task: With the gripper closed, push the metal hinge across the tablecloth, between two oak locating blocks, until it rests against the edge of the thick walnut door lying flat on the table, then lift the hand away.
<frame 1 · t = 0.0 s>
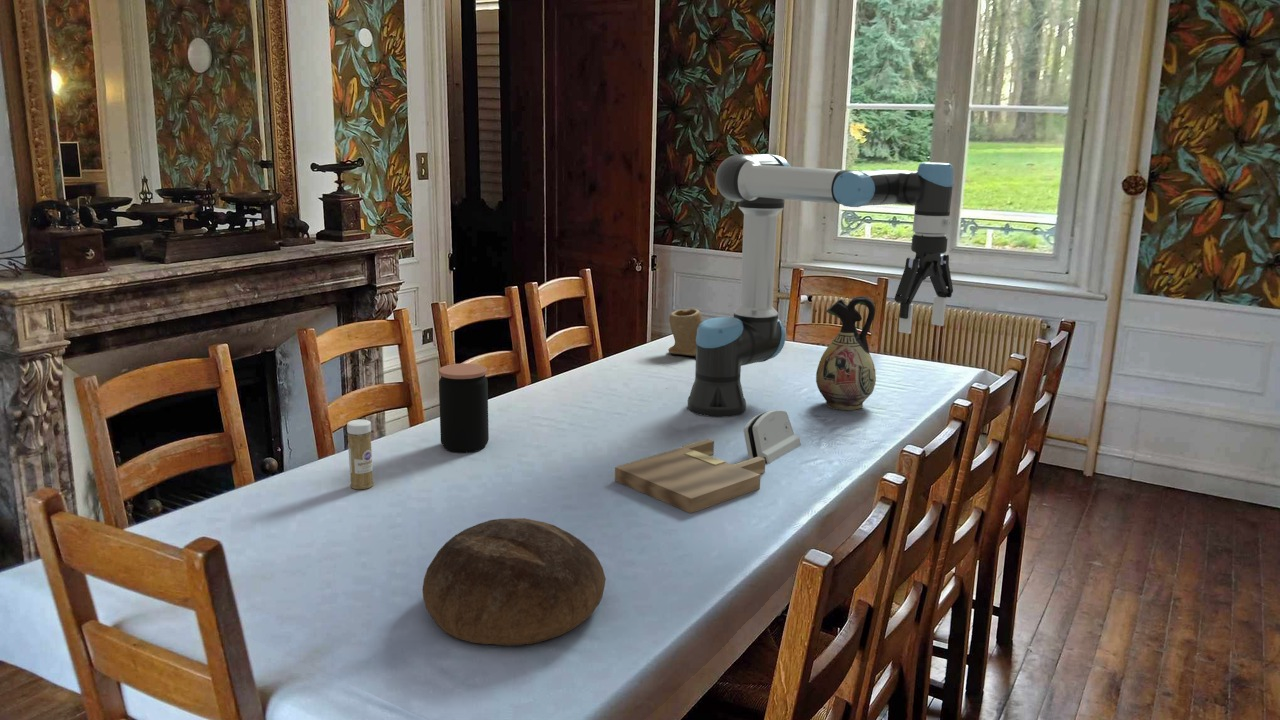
hand: (921, 328, 215), 28 cm above the table, tool pointing down, fingers open, 13 cm apart
bread: (514, 608, 145), on the table
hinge: (770, 451, 217), on the table
coffee jar: (464, 446, 216), on the table
ceramic jug: (846, 407, 253), on the table
stone cup: (690, 356, 305), on the table
door panel: (686, 484, 195), on the table
sprinkles bottle: (362, 487, 191), on the table
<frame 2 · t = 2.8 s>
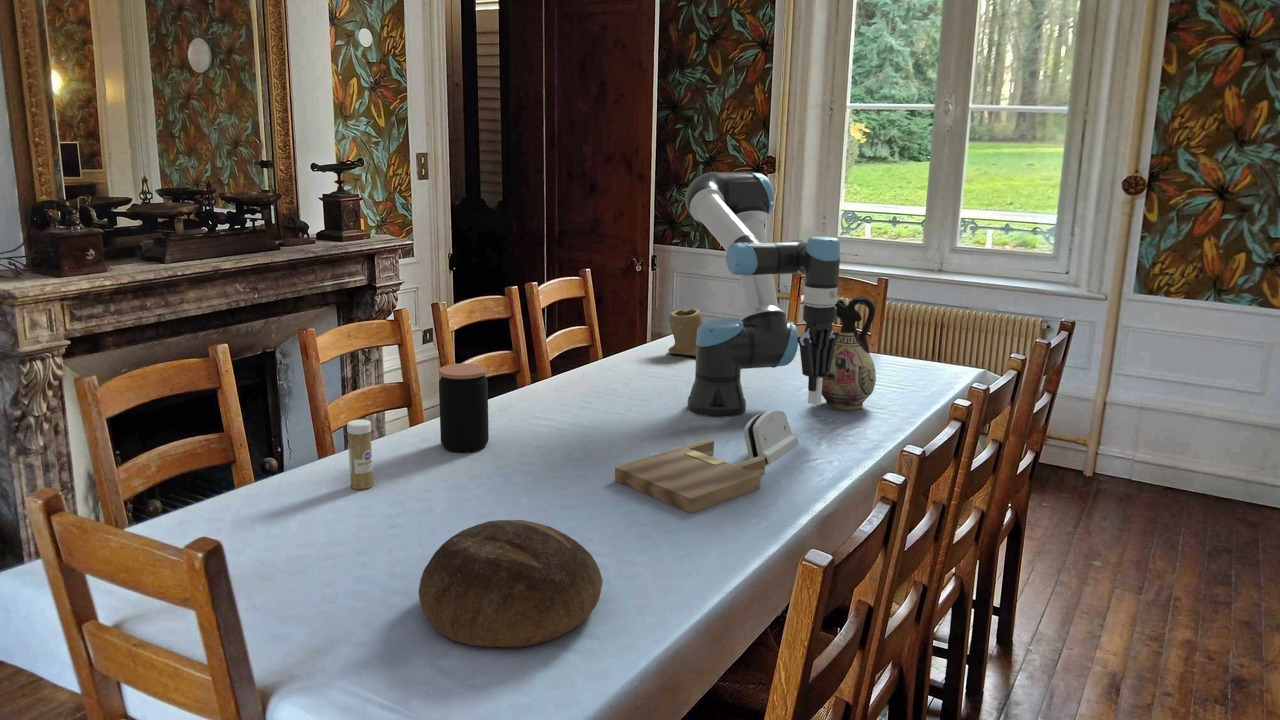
hand: (814, 403, 224), 8 cm above the table, tool pointing down, fingers closed
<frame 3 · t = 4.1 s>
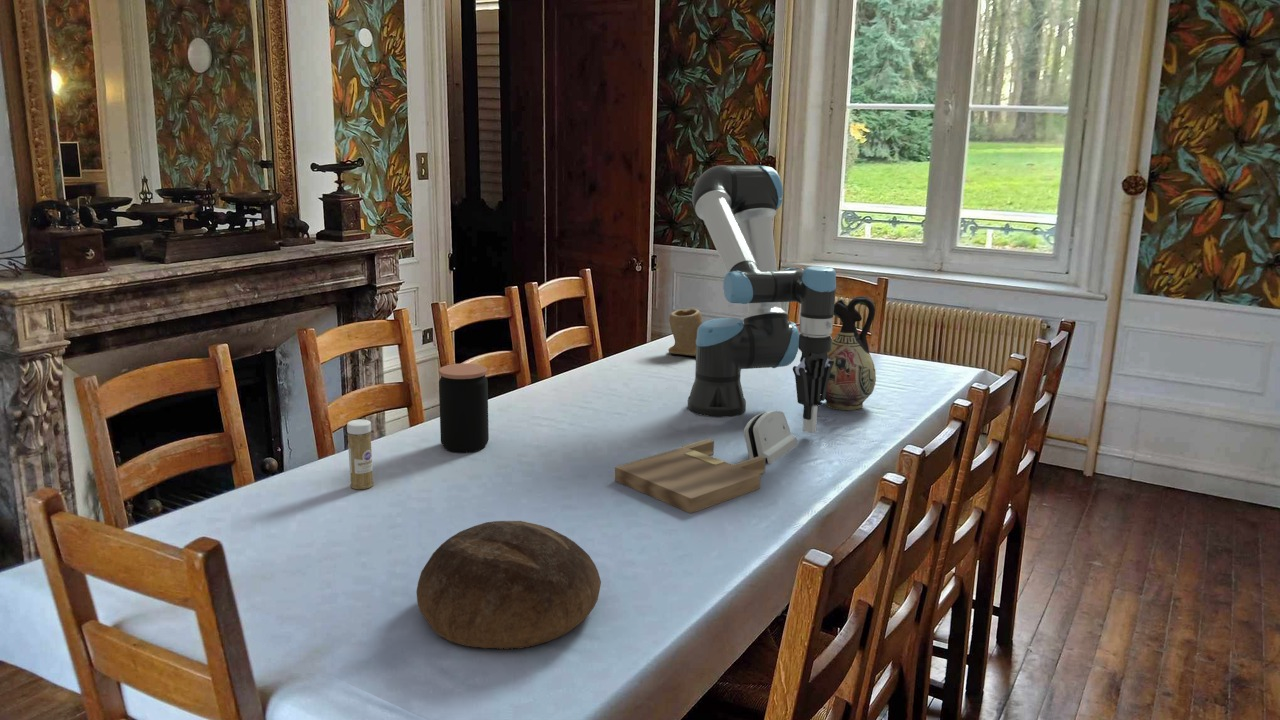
hand: (809, 431, 226), 2 cm above the table, tool pointing down, fingers closed
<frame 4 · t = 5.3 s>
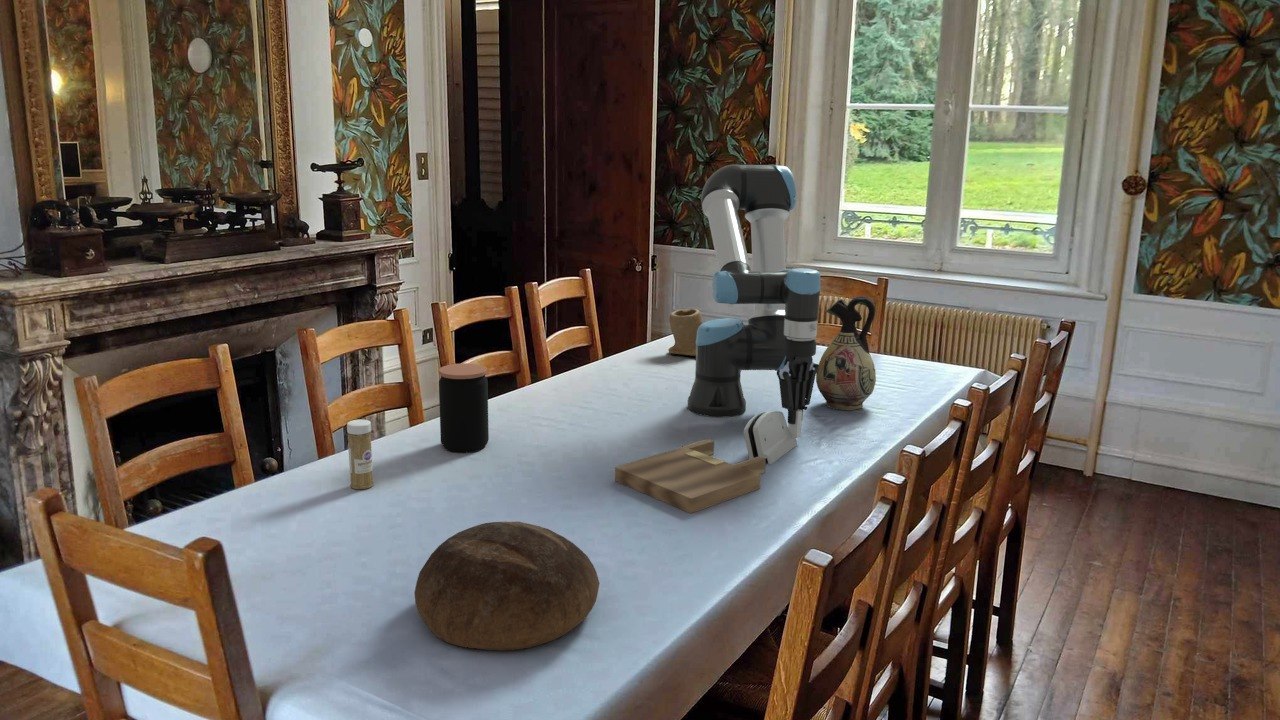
hand: (794, 436, 222), 2 cm above the table, tool pointing down, fingers closed
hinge: (768, 452, 217), on the table, touching gripper
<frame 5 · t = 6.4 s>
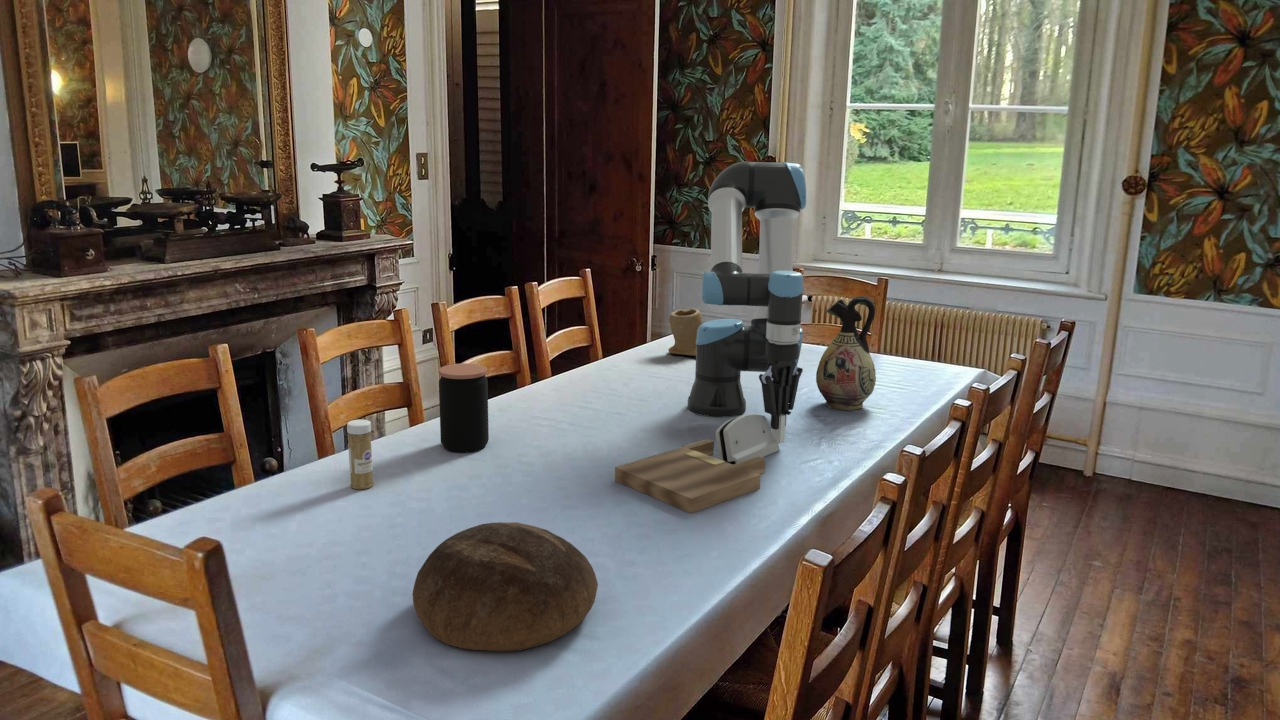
hand: (777, 441, 218), 2 cm above the table, tool pointing down, fingers closed
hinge: (745, 455, 214), on the table, touching gripper
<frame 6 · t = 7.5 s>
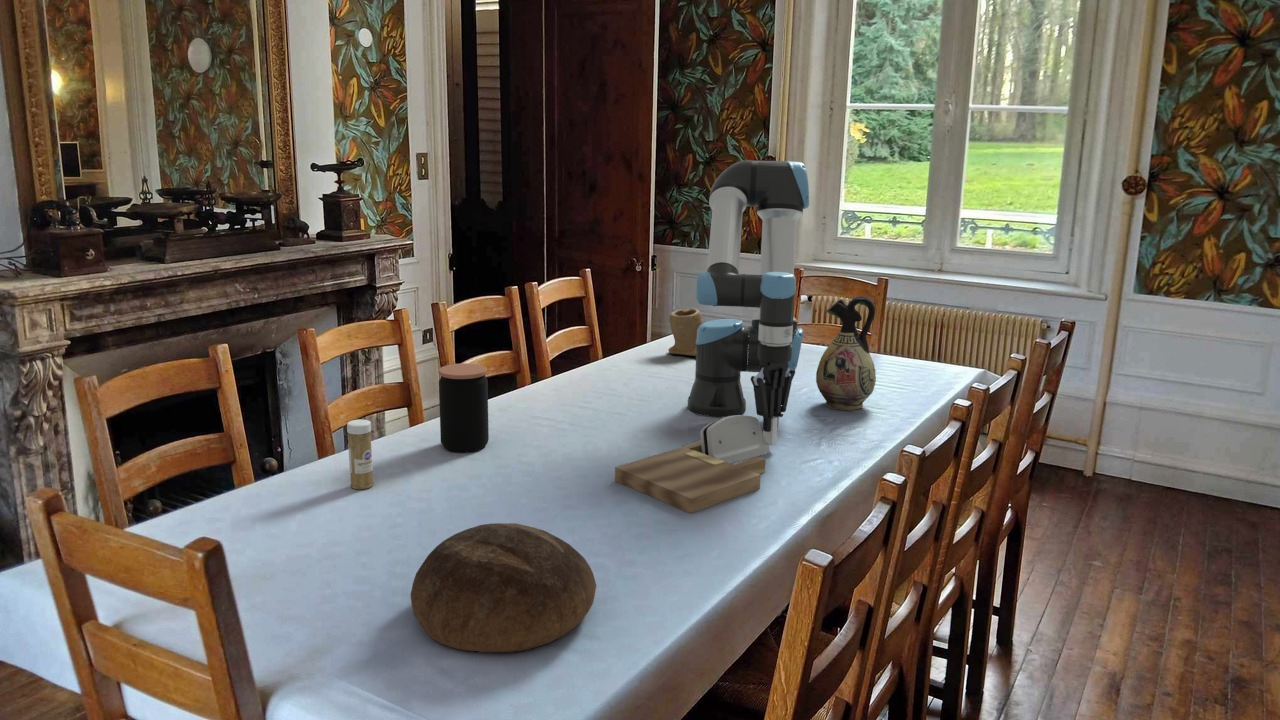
hand: (769, 443, 216), 2 cm above the table, tool pointing down, fingers closed
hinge: (732, 456, 214), on the table
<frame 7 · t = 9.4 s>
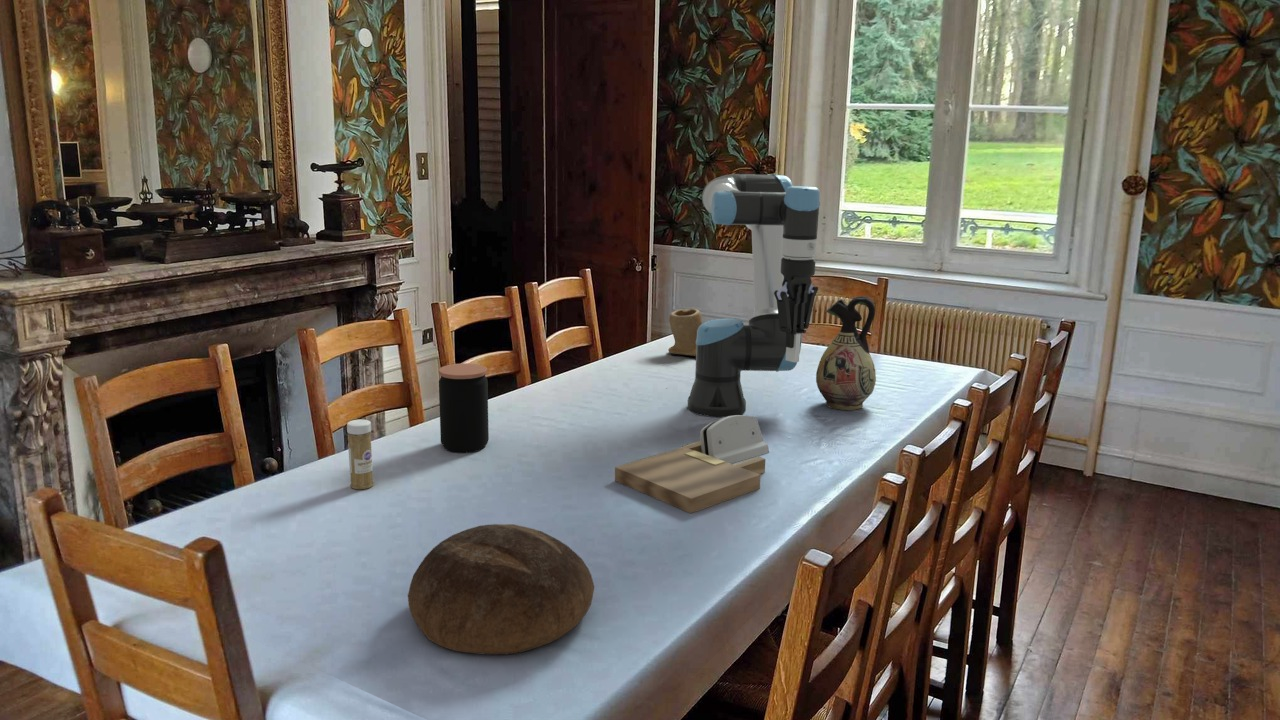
hand: (792, 360, 216), 20 cm above the table, tool pointing down, fingers closed
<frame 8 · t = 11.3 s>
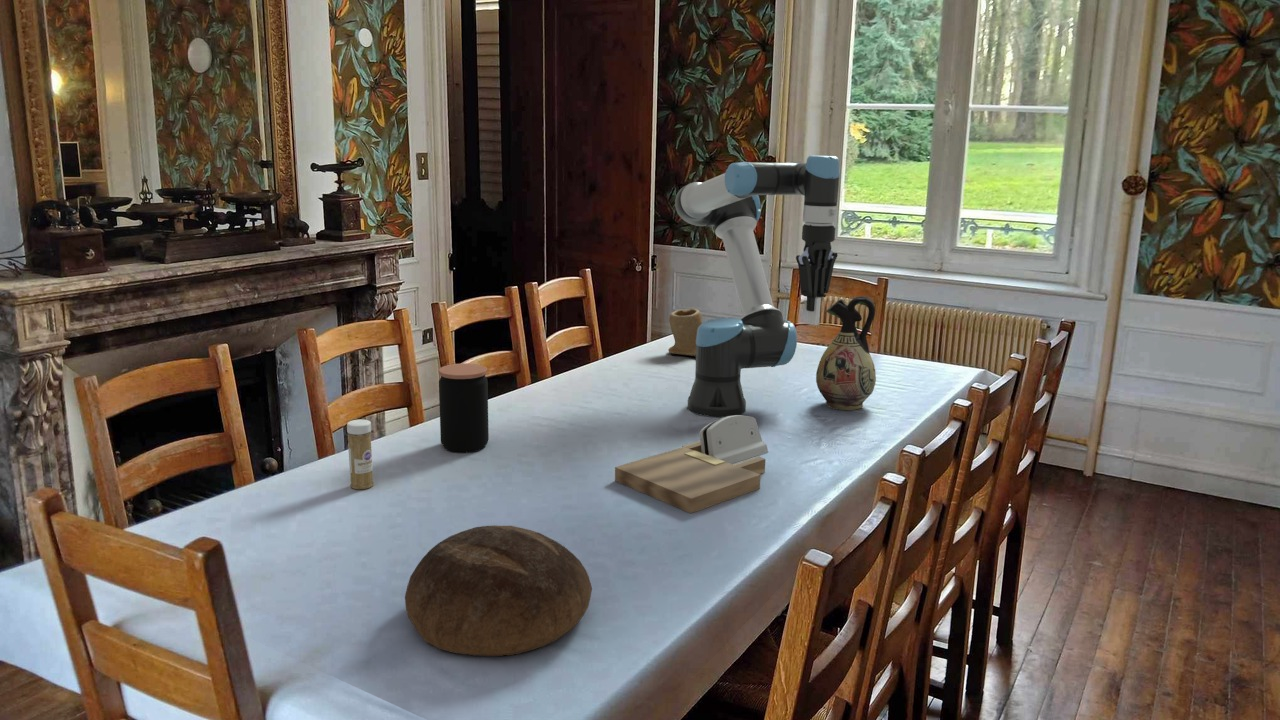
hand: (812, 324, 225), 26 cm above the table, tool pointing down, fingers closed
at the end: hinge inside the target area on the door panel (4.0 cm from its centre), point 0.0 cm above the door panel's base; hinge moved 10.0 cm from its start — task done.
